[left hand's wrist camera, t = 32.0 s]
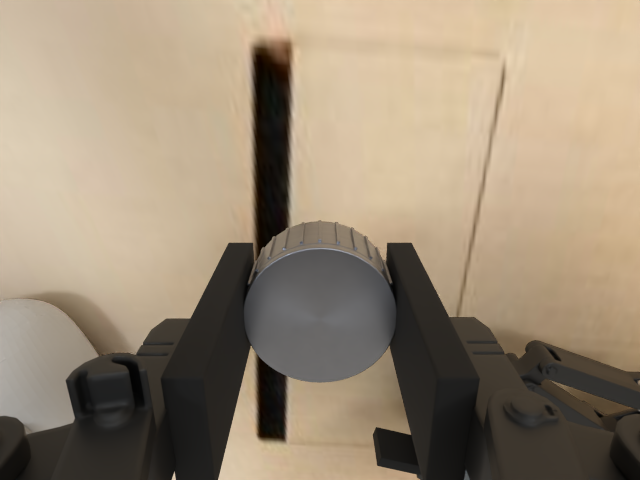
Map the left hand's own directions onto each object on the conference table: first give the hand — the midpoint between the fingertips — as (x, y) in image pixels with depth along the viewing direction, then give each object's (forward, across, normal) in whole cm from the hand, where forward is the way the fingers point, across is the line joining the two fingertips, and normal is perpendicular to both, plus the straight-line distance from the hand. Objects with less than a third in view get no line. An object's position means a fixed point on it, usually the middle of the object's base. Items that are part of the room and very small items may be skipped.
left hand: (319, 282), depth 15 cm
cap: (-2, 0, 0) cm, 2 cm away
